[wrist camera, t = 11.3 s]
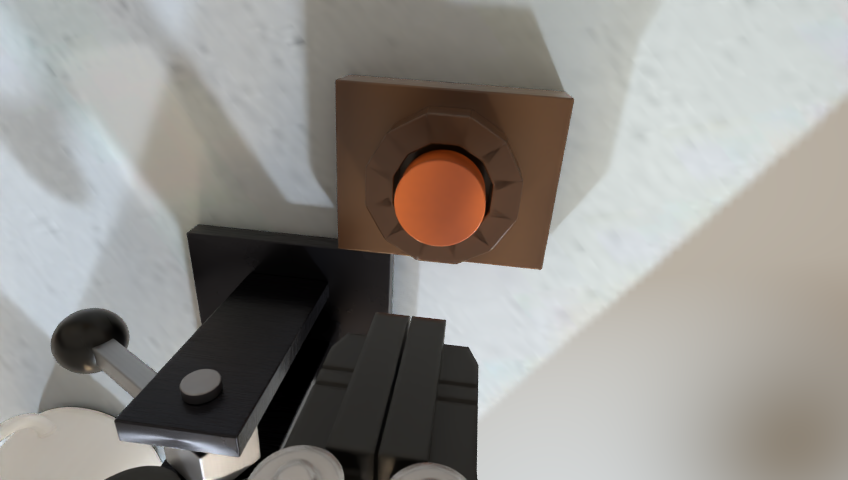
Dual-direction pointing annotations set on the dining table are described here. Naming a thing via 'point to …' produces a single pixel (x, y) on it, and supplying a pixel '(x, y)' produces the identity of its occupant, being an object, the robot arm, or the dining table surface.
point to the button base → (458, 131)
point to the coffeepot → (68, 447)
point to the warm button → (440, 198)
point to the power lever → (134, 383)
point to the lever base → (256, 339)
